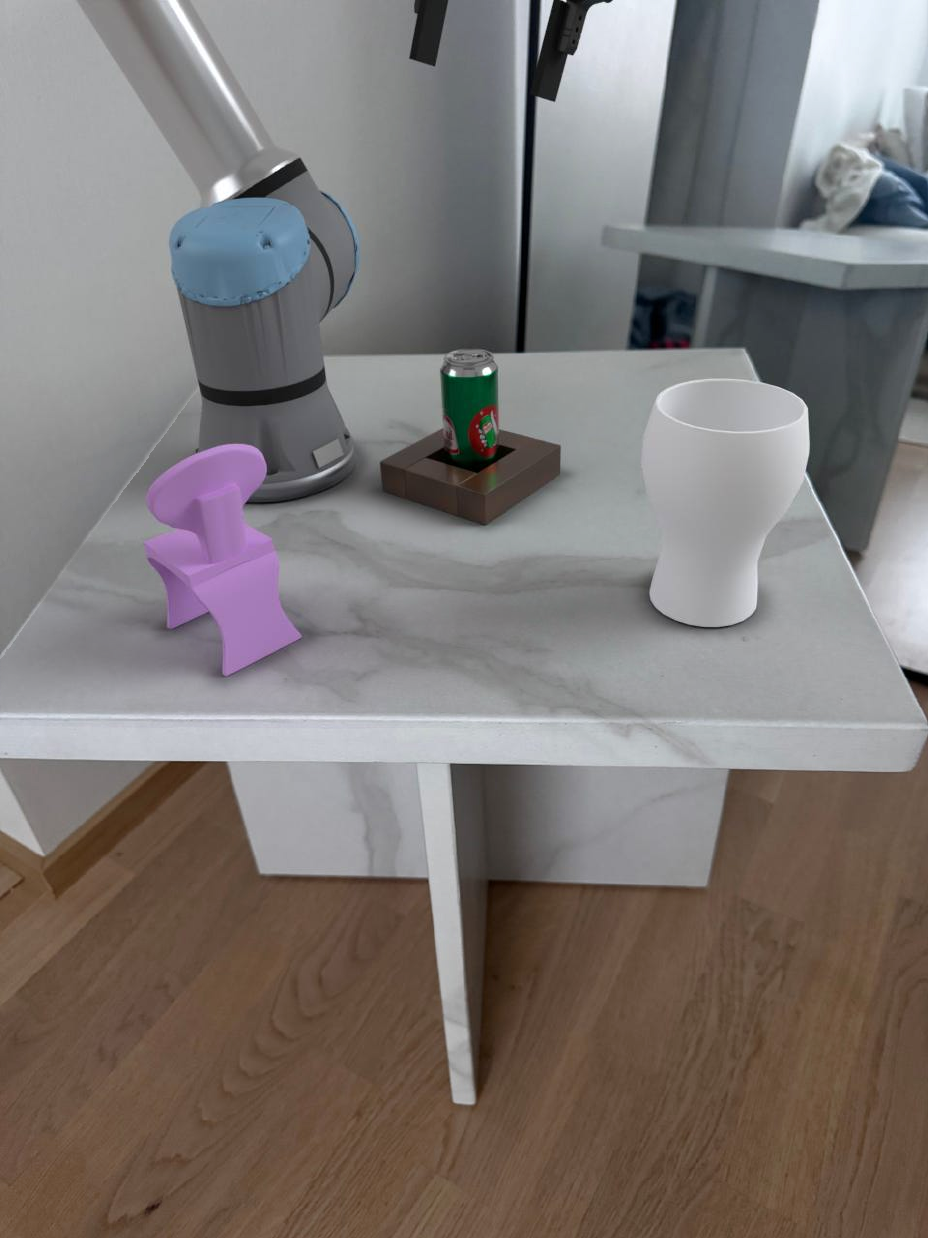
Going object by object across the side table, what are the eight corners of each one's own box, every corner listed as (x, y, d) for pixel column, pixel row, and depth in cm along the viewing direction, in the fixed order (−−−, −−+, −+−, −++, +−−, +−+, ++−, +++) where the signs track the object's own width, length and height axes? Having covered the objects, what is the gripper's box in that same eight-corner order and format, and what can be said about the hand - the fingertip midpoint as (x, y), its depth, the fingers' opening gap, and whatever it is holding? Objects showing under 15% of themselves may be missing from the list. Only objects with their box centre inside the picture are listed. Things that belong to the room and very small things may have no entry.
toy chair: (249, 586, 68) (209, 402, 59) (313, 631, 62) (280, 437, 54) (151, 630, 63) (92, 439, 55) (212, 684, 58) (157, 480, 49)
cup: (784, 647, 59) (828, 440, 50) (626, 633, 61) (643, 433, 52) (771, 566, 67) (807, 377, 59) (632, 556, 69) (648, 372, 61)
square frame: (382, 490, 81) (379, 461, 79) (460, 446, 88) (459, 418, 86) (485, 525, 74) (484, 494, 73) (560, 474, 82) (561, 444, 80)
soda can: (444, 472, 83) (437, 348, 76) (496, 469, 83) (494, 345, 77) (447, 496, 79) (440, 367, 72) (502, 492, 79) (500, 363, 72)
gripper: (726, -220, 60) (622, 122, 71) (459, -241, 71) (404, 57, 82) (679, -273, 54) (573, 106, 65) (398, -287, 65) (348, 40, 76)
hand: (479, 80), depth 73 cm, fingers open, 13 cm apart
